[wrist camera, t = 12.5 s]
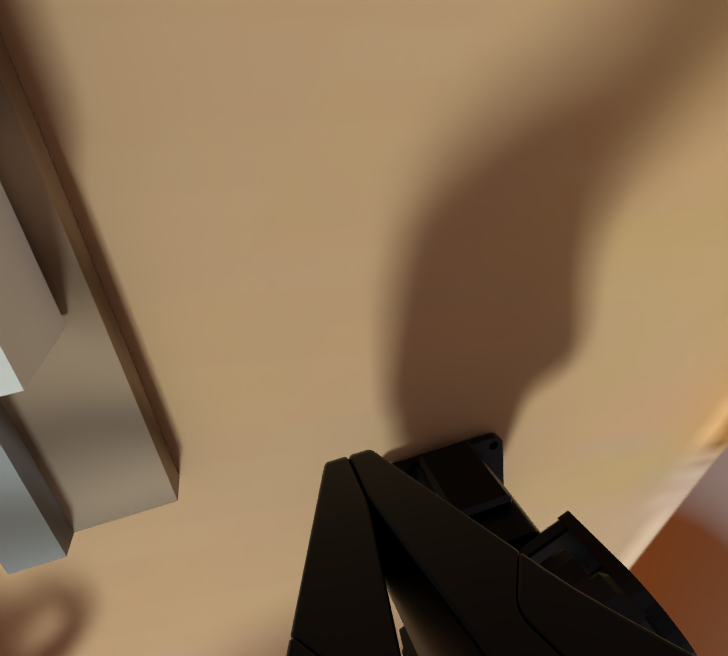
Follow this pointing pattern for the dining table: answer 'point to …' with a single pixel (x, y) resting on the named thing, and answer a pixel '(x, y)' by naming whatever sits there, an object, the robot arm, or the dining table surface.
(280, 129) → the dining table surface
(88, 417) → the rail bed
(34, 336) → the carriage
